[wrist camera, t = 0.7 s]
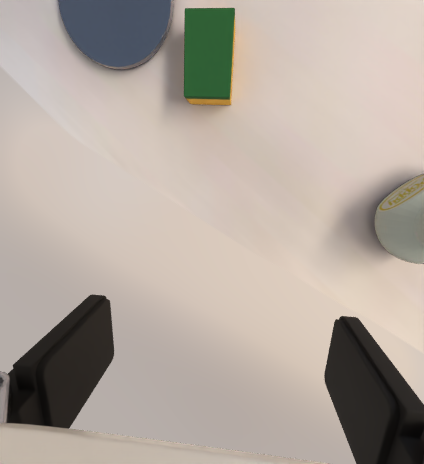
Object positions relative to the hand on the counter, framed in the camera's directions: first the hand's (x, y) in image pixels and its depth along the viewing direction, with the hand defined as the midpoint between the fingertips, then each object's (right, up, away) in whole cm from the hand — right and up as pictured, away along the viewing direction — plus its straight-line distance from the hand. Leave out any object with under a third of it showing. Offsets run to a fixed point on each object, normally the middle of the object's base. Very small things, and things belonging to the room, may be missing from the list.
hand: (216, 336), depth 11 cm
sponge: (0, +24, +20) cm, 31 cm away
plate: (-11, +30, +19) cm, 37 cm away
